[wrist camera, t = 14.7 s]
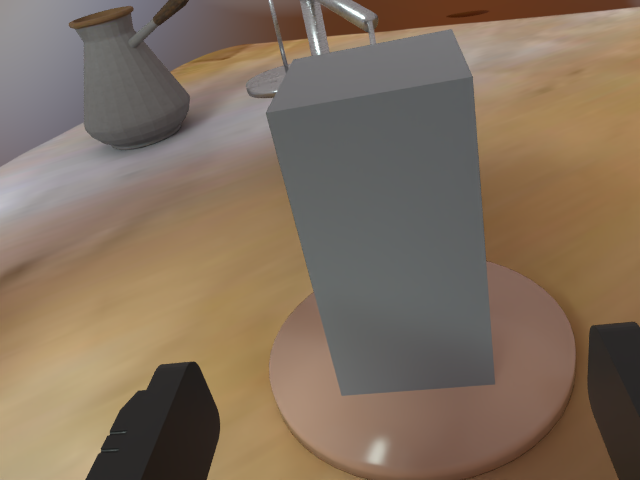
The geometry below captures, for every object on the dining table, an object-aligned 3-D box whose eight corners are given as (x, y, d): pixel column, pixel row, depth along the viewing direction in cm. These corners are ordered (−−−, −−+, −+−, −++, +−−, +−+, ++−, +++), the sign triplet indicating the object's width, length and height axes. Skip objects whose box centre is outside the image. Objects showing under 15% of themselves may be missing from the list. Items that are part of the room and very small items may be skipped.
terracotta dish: (239, 337, 29) (233, 322, 29) (450, 242, 33) (449, 227, 32) (354, 553, 18) (348, 535, 18) (652, 378, 22) (654, 359, 21)
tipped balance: (256, 153, 51) (201, -38, 43) (325, 127, 53) (285, -60, 45) (379, 260, 32) (323, -41, 25) (480, 215, 34) (458, -78, 26)
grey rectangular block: (341, 396, 23) (265, 112, 17) (349, 303, 28) (293, 59, 22) (495, 384, 22) (472, 76, 16) (474, 290, 27) (451, 29, 21)
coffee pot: (73, 156, 62) (6, 13, 54) (146, 116, 70) (96, -14, 62) (225, 161, 51) (168, -17, 43) (291, 112, 59) (252, -46, 52)
